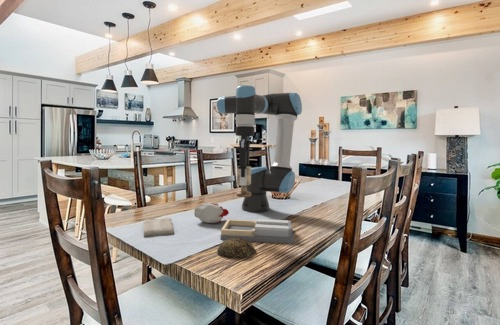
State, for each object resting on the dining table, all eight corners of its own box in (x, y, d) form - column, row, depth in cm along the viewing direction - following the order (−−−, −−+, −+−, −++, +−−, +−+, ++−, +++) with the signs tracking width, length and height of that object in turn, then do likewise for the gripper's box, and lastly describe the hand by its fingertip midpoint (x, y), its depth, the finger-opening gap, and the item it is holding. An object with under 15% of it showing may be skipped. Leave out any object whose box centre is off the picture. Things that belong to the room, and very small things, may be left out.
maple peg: (235, 196, 114) (235, 167, 113) (237, 193, 120) (238, 165, 118) (250, 197, 113) (250, 167, 112) (252, 194, 119) (252, 166, 118)
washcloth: (170, 222, 132) (170, 215, 132) (174, 235, 116) (174, 227, 115) (143, 224, 128) (143, 217, 128) (143, 238, 112) (143, 230, 111)
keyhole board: (220, 239, 111) (220, 226, 110) (228, 226, 126) (228, 215, 126) (293, 243, 107) (294, 231, 107) (292, 230, 123) (292, 219, 123)
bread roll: (212, 255, 96) (212, 241, 96) (228, 243, 108) (228, 230, 107) (247, 262, 91) (248, 247, 91) (260, 248, 103) (260, 235, 102)
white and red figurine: (192, 221, 132) (217, 219, 142) (206, 226, 124) (232, 224, 134) (194, 201, 132) (219, 201, 142) (209, 205, 124) (234, 205, 134)
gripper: (239, 126, 123) (238, 180, 125) (231, 124, 105) (230, 187, 107) (256, 126, 122) (255, 180, 124) (252, 125, 104) (250, 188, 106)
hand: (244, 183), depth 116 cm, fingers closed on maple peg, 5 cm apart
